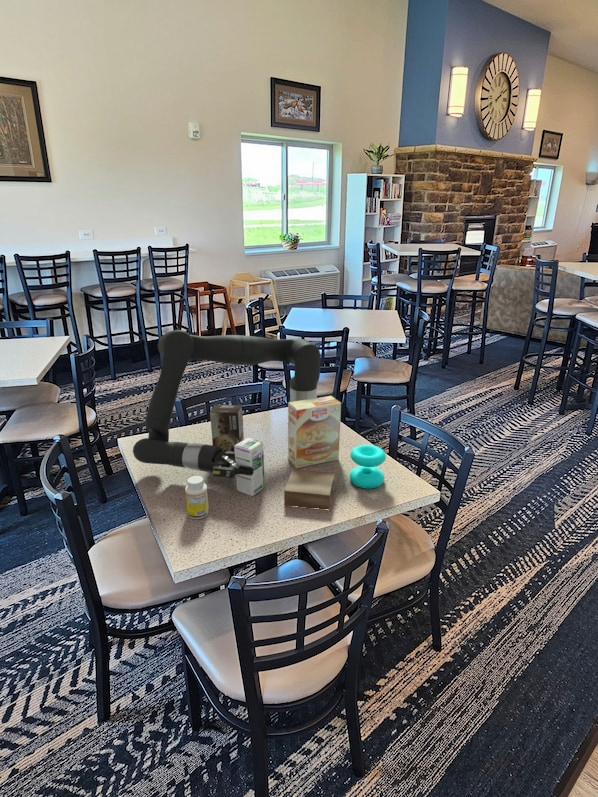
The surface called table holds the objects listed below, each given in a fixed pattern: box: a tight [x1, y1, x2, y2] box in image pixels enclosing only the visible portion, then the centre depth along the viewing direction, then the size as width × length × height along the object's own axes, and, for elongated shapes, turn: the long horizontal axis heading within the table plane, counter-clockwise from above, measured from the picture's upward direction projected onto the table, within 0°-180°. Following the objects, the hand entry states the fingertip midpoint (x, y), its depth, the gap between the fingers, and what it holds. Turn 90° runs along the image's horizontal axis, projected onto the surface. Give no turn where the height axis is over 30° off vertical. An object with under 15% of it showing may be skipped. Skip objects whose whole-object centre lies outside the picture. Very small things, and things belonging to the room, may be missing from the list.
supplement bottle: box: [184, 475, 210, 520], centre depth 127 cm, size 6×6×10 cm
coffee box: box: [209, 404, 245, 451], centre depth 156 cm, size 9×6×16 cm
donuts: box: [349, 444, 387, 490], centre depth 142 cm, size 10×10×10 cm
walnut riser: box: [283, 468, 336, 510], centre depth 136 cm, size 12×12×5 cm
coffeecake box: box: [287, 395, 342, 469], centre depth 153 cm, size 15×7×20 cm, turn 114°
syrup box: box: [235, 437, 266, 497], centre depth 137 cm, size 6×6×14 cm
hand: (257, 464), depth 136 cm, fingers closed on syrup box, 7 cm apart
